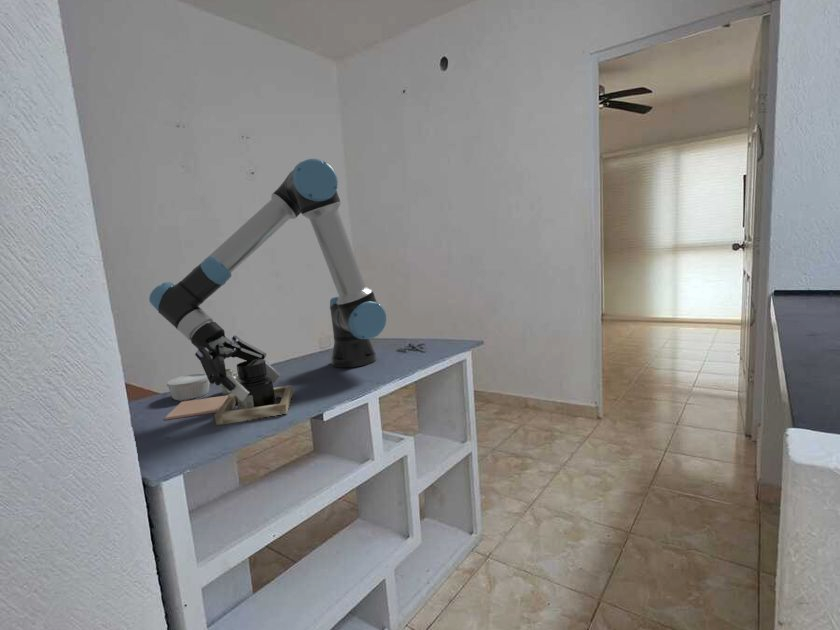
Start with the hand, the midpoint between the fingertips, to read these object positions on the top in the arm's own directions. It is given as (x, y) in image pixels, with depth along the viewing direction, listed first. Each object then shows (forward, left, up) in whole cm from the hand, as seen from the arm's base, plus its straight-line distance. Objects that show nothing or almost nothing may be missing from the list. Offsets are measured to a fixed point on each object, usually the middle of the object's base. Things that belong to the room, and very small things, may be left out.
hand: (262, 387), depth 109 cm
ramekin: (+24, -22, -6) cm, 33 cm away
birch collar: (+2, -1, -5) cm, 6 cm away
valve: (+10, -22, -6) cm, 25 cm away
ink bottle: (+2, -1, -6) cm, 6 cm away
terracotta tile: (+18, -9, -5) cm, 21 cm away
